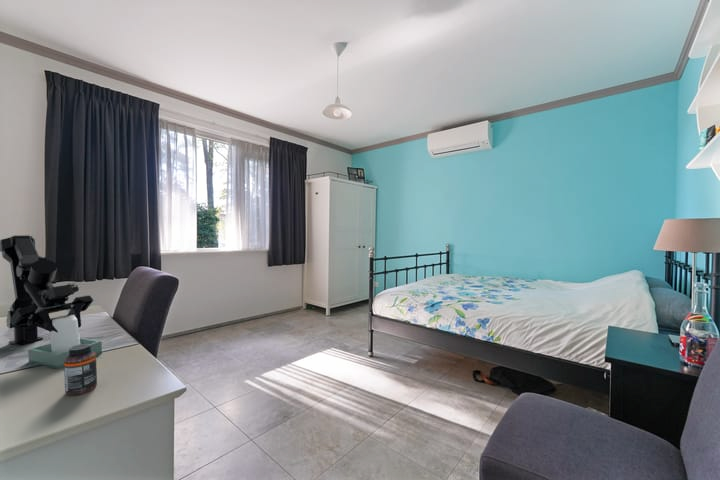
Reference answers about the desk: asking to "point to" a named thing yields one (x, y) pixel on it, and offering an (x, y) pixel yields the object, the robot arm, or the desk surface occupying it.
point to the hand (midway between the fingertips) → (68, 329)
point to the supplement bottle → (80, 370)
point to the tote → (53, 360)
